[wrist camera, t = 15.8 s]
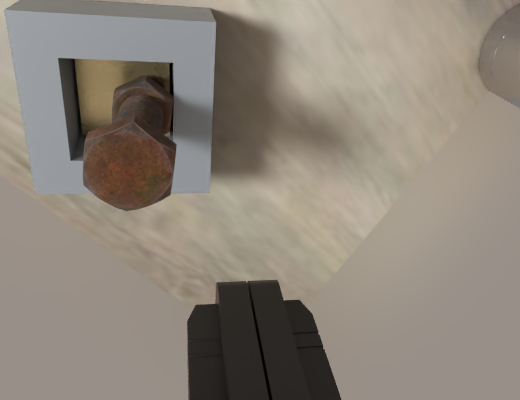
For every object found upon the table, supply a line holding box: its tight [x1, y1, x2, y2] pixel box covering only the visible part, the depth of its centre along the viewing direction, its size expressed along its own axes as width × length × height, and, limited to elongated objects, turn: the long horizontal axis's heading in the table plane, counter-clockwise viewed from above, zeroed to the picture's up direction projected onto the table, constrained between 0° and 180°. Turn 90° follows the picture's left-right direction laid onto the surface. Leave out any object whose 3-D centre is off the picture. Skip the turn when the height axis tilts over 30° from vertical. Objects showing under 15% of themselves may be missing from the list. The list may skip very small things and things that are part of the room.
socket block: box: [4, 0, 216, 194], centre depth 39 cm, size 14×14×6 cm
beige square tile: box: [75, 59, 170, 136], centre depth 41 cm, size 7×7×2 cm
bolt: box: [83, 75, 177, 211], centre depth 34 cm, size 6×5×15 cm
